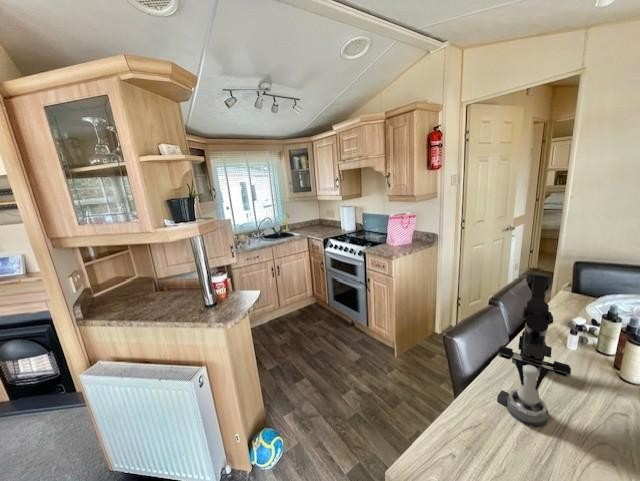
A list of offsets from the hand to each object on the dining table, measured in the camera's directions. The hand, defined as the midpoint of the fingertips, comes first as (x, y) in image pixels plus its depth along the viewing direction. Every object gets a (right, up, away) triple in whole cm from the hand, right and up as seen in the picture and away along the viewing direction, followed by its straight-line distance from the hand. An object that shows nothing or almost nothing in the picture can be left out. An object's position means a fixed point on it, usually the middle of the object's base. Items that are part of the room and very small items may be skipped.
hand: (529, 387), depth 86 cm
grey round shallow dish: (+1, -10, +4) cm, 11 cm away
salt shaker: (+1, -6, +2) cm, 7 cm away
